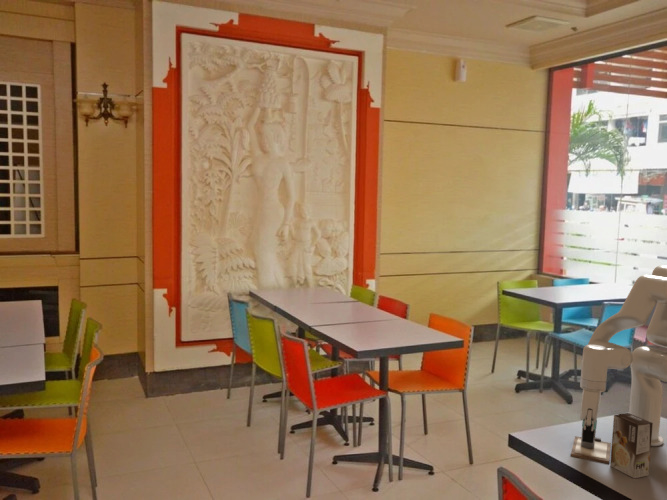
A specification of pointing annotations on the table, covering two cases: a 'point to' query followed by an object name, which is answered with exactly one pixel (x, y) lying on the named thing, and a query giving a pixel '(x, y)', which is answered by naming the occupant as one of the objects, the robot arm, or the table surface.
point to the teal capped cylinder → (591, 445)
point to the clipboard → (592, 450)
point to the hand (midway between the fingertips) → (588, 438)
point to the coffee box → (631, 445)
